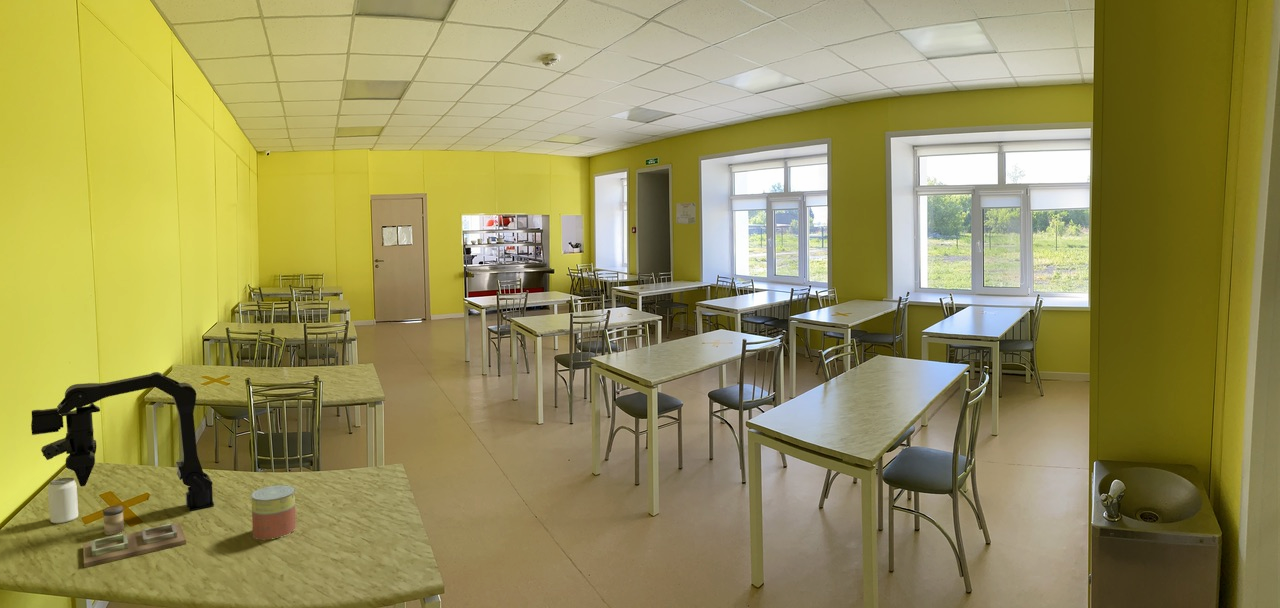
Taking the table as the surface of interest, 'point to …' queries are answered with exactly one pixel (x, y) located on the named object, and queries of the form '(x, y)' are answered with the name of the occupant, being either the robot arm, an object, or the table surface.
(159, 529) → the board
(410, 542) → the table surface
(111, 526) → the cylinder
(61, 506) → the can
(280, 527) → the canned food
